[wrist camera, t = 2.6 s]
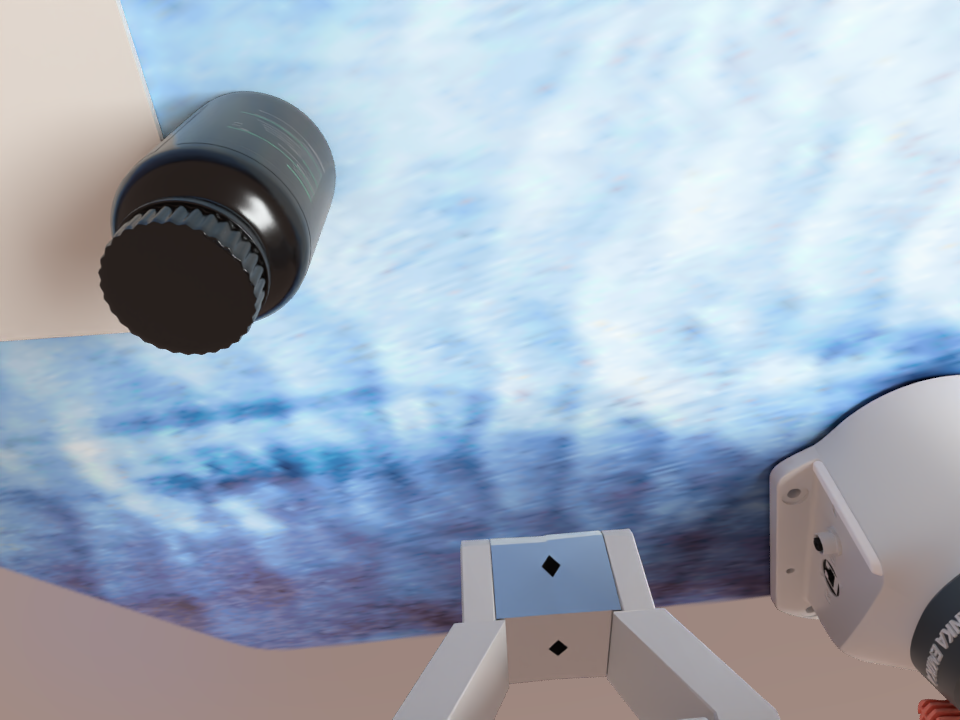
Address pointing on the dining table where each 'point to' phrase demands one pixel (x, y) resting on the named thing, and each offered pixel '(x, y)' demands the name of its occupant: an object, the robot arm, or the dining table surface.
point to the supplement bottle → (217, 223)
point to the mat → (64, 159)
